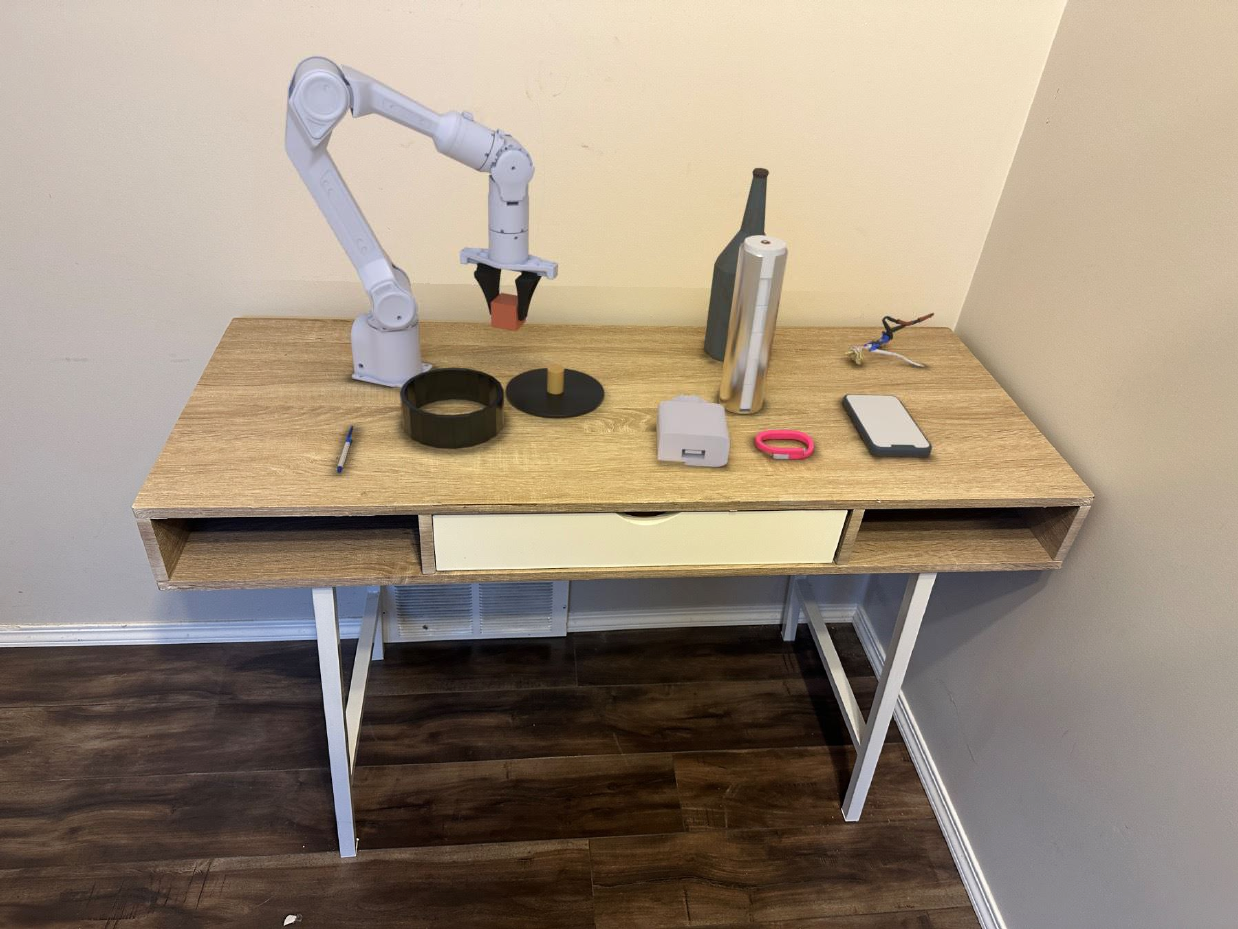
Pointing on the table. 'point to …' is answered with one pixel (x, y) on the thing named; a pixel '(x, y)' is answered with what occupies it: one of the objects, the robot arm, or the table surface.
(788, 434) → the fitness band
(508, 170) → the robot arm
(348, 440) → the ballpoint pen
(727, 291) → the bottle
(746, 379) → the silver metal cylinder
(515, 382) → the tin lid
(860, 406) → the smartphone
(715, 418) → the charger
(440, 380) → the tin
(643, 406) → the table surface
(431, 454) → the table surface
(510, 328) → the block
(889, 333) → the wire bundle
